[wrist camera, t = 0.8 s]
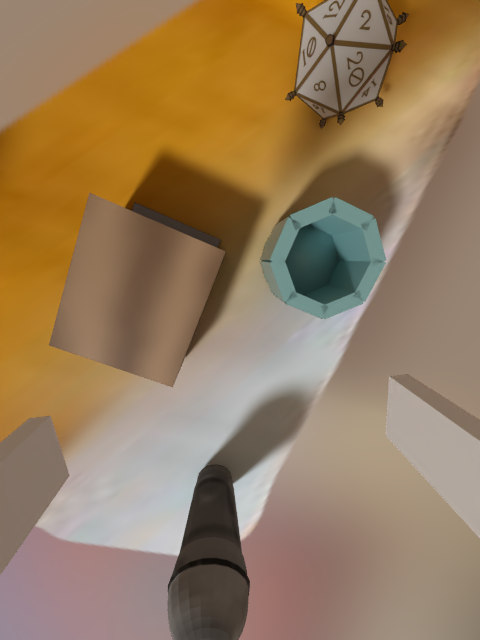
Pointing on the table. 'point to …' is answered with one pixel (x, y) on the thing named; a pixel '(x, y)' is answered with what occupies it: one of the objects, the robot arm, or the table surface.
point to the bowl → (324, 258)
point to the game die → (344, 55)
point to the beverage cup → (210, 566)
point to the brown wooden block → (134, 292)
